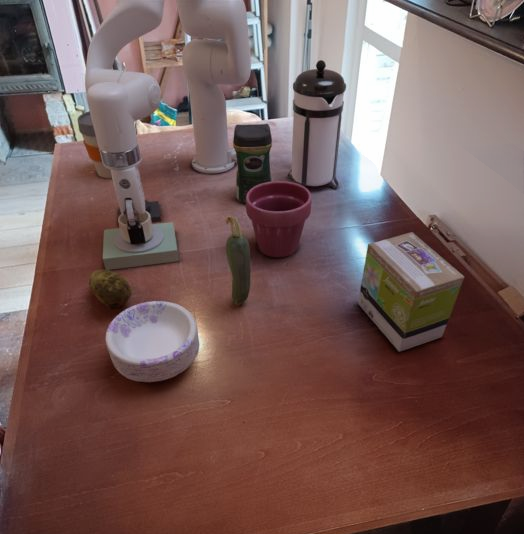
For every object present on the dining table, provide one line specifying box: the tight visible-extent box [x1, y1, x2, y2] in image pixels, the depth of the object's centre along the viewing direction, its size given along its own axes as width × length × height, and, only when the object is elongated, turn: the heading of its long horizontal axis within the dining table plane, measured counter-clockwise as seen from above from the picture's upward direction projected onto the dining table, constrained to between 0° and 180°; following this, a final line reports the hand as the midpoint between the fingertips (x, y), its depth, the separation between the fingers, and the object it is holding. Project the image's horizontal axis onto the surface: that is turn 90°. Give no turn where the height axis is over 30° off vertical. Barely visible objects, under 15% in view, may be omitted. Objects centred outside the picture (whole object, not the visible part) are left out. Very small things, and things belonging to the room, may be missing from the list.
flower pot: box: [245, 180, 312, 258], centre depth 106 cm, size 14×14×13 cm
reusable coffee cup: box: [77, 110, 112, 179], centre depth 133 cm, size 13×13×15 cm
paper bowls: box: [104, 300, 200, 383], centre depth 83 cm, size 15×15×8 cm
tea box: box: [357, 231, 465, 353], centre depth 87 cm, size 15×10×15 cm, turn 23°
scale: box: [102, 221, 180, 271], centre depth 109 cm, size 16×12×4 cm
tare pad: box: [118, 199, 162, 223], centre depth 120 cm, size 10×8×3 cm
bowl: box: [117, 210, 154, 243], centre depth 105 cm, size 7×7×5 cm
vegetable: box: [225, 215, 252, 306], centre depth 89 cm, size 4×4×20 cm
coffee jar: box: [232, 123, 273, 204], centre depth 120 cm, size 10×8×19 cm
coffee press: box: [287, 59, 347, 190], centre depth 123 cm, size 17×16×30 cm
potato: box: [88, 268, 132, 310], centre depth 95 cm, size 8×13×8 cm, turn 12°
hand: (137, 232), depth 106 cm, fingers closed on bowl, 7 cm apart
